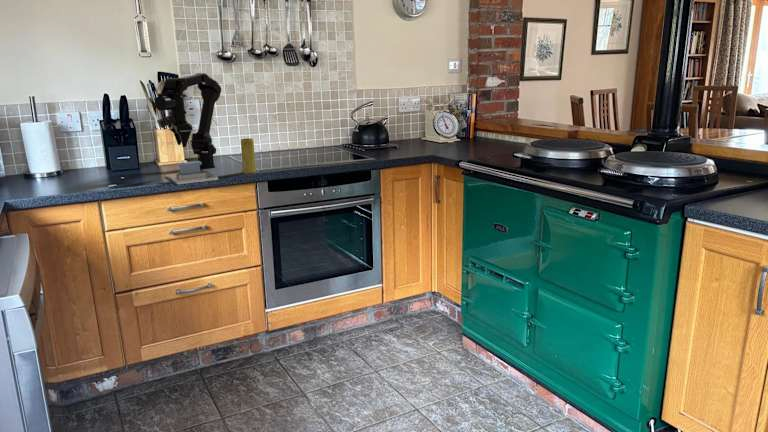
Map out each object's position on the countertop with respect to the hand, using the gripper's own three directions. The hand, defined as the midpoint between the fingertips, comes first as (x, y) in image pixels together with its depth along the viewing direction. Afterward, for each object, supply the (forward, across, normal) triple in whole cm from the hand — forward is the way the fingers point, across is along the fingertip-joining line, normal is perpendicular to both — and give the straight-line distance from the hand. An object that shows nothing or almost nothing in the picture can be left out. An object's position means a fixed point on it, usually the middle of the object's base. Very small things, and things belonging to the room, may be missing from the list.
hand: (181, 146), depth 243 cm
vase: (+12, +14, +24) cm, 30 cm away
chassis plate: (+12, +12, 0) cm, 17 cm away
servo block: (+11, +15, -1) cm, 19 cm away
